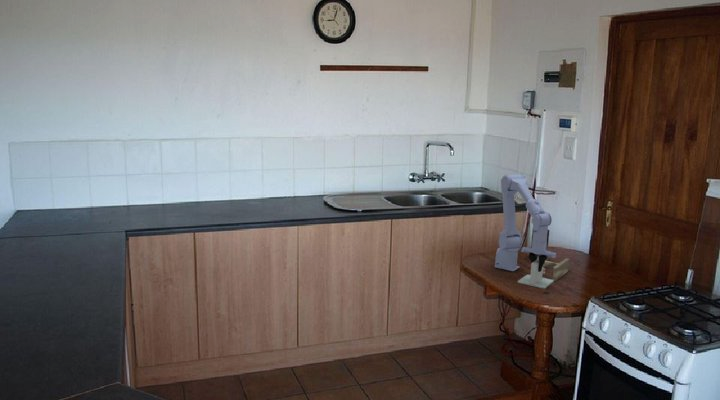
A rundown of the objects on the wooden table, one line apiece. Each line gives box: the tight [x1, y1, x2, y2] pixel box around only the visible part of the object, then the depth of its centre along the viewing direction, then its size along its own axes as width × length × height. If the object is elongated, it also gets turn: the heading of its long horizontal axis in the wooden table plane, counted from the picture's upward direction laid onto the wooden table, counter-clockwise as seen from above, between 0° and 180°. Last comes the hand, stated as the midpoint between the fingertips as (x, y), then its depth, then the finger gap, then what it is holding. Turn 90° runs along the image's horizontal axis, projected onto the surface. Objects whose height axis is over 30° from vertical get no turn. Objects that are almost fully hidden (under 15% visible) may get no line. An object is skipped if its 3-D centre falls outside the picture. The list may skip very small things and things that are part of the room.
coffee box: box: [530, 227, 550, 261], centre depth 296 cm, size 9×6×16 cm
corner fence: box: [543, 257, 570, 282], centre depth 277 cm, size 14×19×6 cm
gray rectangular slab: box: [529, 259, 544, 284], centre depth 263 cm, size 2×10×9 cm, turn 145°
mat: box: [517, 274, 555, 289], centre depth 264 cm, size 12×12×1 cm
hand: (536, 270), depth 263 cm, fingers closed on gray rectangular slab, 2 cm apart
